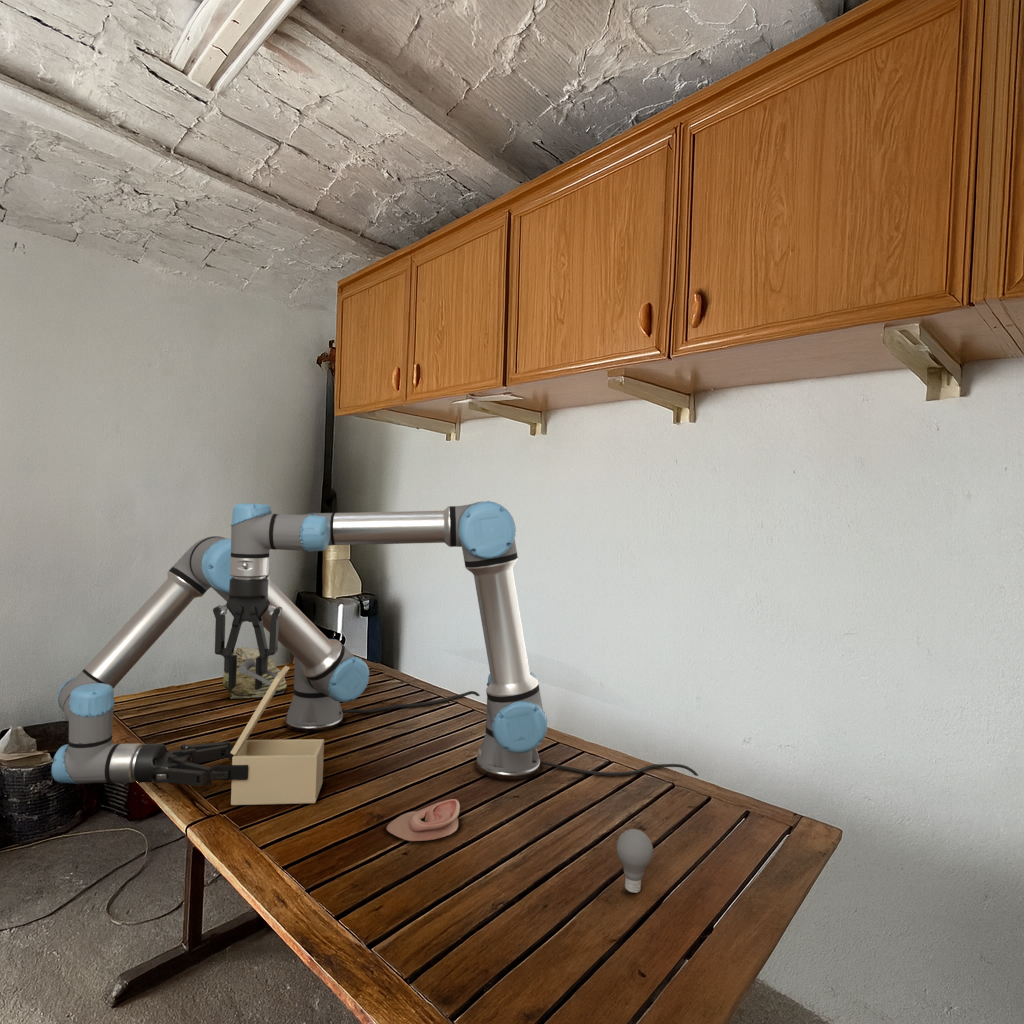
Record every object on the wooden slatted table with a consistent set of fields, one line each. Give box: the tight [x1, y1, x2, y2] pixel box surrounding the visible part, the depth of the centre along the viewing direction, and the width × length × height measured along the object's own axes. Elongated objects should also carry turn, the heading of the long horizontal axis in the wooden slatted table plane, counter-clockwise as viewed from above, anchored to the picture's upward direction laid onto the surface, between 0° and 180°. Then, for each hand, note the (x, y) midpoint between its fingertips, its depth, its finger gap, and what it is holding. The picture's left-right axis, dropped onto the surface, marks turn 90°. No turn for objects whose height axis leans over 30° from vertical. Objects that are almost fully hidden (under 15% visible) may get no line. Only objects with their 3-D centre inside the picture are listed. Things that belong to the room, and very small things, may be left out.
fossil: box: [222, 646, 288, 699], centre depth 198 cm, size 9×18×15 cm, turn 132°
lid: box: [230, 658, 290, 755], centre depth 133 cm, size 18×9×8 cm
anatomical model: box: [386, 798, 461, 842], centre depth 123 cm, size 13×4×12 cm
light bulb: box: [615, 828, 654, 894], centre depth 106 cm, size 6×6×10 cm
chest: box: [230, 738, 325, 806], centre depth 134 cm, size 17×9×10 cm, turn 98°
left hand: (254, 762), depth 133 cm, fingers closed on chest, 9 cm apart
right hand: (245, 687), depth 133 cm, fingers open, 5 cm apart
